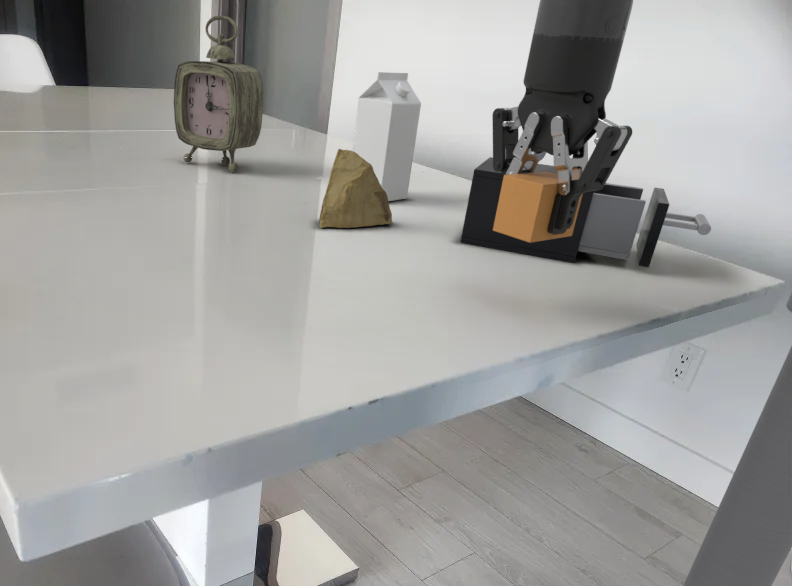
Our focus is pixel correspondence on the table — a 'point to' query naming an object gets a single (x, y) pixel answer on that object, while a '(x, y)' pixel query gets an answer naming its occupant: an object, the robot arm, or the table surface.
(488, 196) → the black drawer cabinet
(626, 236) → the drawer
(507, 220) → the cardboard box
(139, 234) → the table surface
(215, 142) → the tabletop clock
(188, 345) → the table surface
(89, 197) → the table surface
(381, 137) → the milk carton
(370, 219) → the rock
